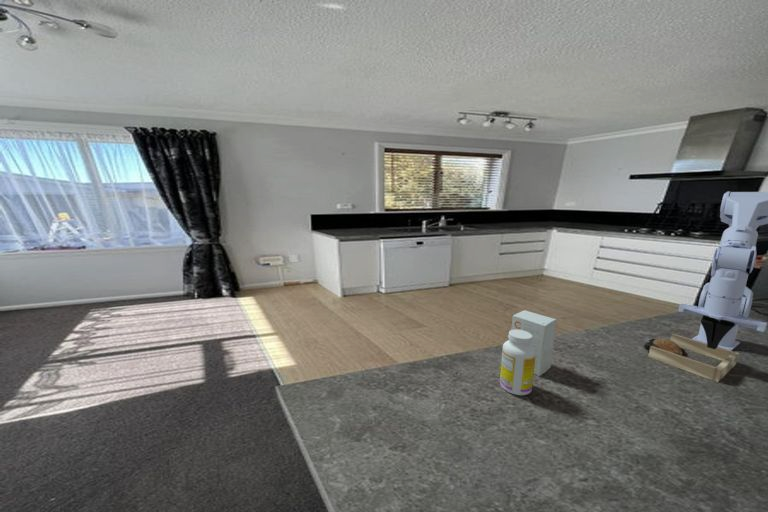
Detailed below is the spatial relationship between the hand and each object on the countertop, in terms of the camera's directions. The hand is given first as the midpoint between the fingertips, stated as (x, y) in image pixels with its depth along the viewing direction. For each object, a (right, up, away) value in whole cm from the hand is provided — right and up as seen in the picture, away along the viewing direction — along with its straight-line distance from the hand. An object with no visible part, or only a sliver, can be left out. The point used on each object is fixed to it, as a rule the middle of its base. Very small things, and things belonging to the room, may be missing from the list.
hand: (712, 347), depth 76 cm
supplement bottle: (-54, -7, -9) cm, 55 cm away
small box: (-46, -5, 0) cm, 46 cm away
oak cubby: (-2, -5, +4) cm, 6 cm away
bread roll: (-4, -4, +8) cm, 11 cm away
